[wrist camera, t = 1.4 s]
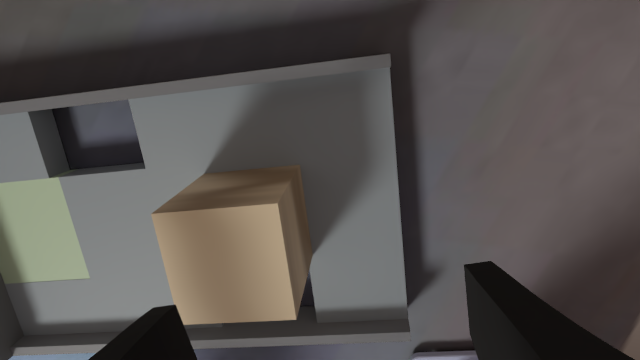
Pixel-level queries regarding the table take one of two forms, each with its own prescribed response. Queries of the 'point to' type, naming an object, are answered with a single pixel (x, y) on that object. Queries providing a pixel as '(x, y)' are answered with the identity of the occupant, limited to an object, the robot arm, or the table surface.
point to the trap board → (180, 171)
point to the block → (237, 246)
